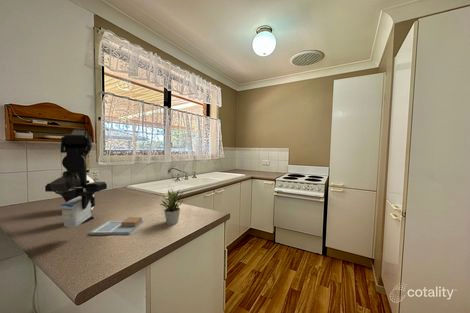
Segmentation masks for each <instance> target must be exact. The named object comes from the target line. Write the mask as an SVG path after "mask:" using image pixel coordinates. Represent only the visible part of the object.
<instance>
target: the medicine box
mask: <svg viewBox="0 0 470 313" xmlns="http://www.w3.org/2000/svg"><path fill="white" fill-rule="evenodd" d="M60 208H61V214H62V221H63V226H64V227H68V228H69V227H71V228H75V227H77V226H79V225H81V224H83V223H82V222H84V221H85V220H87V219H88V218H90V217H91V216H92V217H93V212H92V213H91V204H90V201H89V203H88V205H87V207H86V209H82V196H78V197H76V198H74V199H72V200H70V201H68V202H64V203H62V204H61V206H60Z"/></svg>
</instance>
